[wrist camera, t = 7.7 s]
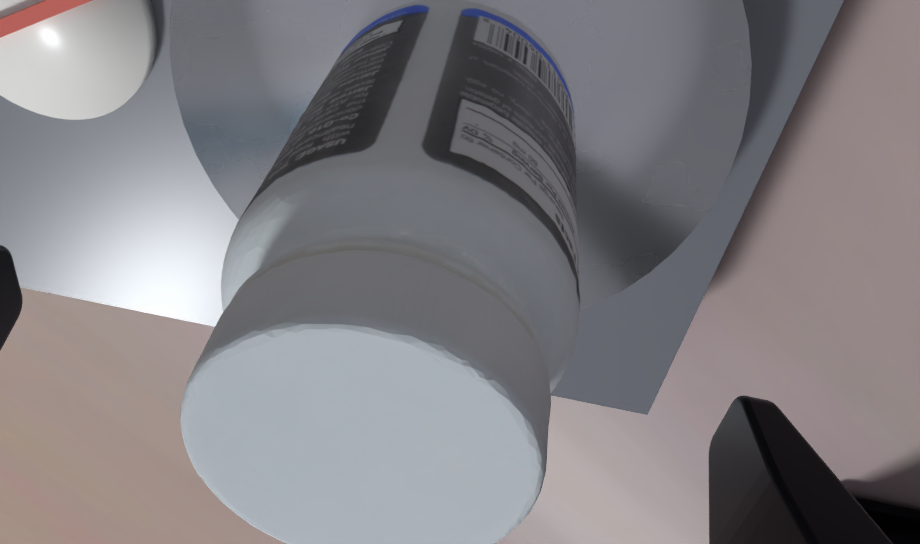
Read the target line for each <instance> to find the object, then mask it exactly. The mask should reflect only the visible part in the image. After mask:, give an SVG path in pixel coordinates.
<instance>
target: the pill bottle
mask: <svg viewBox="0 0 920 544" xmlns="http://www.w3.org/2000/svg"><path fill="white" fill-rule="evenodd" d="M575 152H576V143H575V118H574V106H573V101H572V97H571V93H570V89H569V86H568V83H567V80H566V77H565V75H564V73H563V70H562V69H561V67H560V65H559V63H558V62H557V60H556V58H555V57H554V55H553V54H552V53H551V51H550V50H549V49H548V47H547V46H546V45H545V44H544V43H543V42H542V40H541V39H540V38H539V37H538V36H537V35H536V34H535V33H533V32H532V31H531V30H530V29H529V28H528V27H527V26H526V25H524V24H523V23H521V22H520V21H518V20H517V19H515V18H513V17H512V16H510V15H507V14H505V13H503V12H501V11H498V10H496V9H494V8H491V7H488V6H485V5H482V4H478V3H474V2H470V1H464V0H420V1H415V2H410V3H407V4H404V5H401V6H398V7H396V8H394V9H391V10H389V11H387V12H385V13H383V14H382V15H380V16H379V17H377V18H376V19H374V20H373V21H371V22H369V23H368V24H367V25H366V26H365V27H363V28H362V29H361V30H360V31H359V32H358V33H357V34H356V35H355V36H354V37H353V39H352V40H351V41H350V42H349V43H348V45H347V46H346V47H345V48H344V49H343V51H342V52H341V54H340V55H339V57H338V59H337V60H336V62H335V63H334V65H333V67H332V68H331V70H330V72H329V73H328V75H327V76H326V78H325V80H324V81H323V83H322V85H321V86H320V88H319V89H318V91H317V92H316V94H315V96H314V97H313V99H312V100H311V102H310V104H309V105H308V107H307V109H306V110H305V112H304V113H303V114H302V115H301V117H300V119H299V121H298V123H297V125H296V126H295V128H294V129H293V131H292V133H291V135H290V137H289V139H288V140H287V142H286V144H285V145H284V147H283V149H282V151H281V152H280V154H279V156H278V158H277V159H276V161H275V163H274V165H273V166H272V168H271V170H270V171H269V173H268V174H267V176H266V177H265V179H264V181H263V183H262V184H261V186H260V188H259V189H258V191H257V192H256V194H255V196H254V197H253V199H252V200H251V202H250V203H249V205H248V206H247V208H246V210H245V211H244V213H243V214H242V216H241V218H240V219H239V221H238V223H237V225H236V227H235V229H234V231H233V234H232V236H231V239H230V242H229V245H228V248H227V251H226V254H225V258H224V263H223V270H222V277H221V300H222V308H223V313H222V315H221V317H220V318H219V320H218V322H217V324H216V326H215V328H214V330H213V332H212V334H211V336H210V338H209V340H208V342H207V344H206V346H205V348H204V350H203V352H202V354H201V356H200V358H199V360H198V362H197V363H196V365H195V367H194V369H193V371H192V374H191V376H190V378H189V380H188V383H187V386H186V389H185V392H184V396H183V399H182V405H181V430H182V435H183V441H184V444H185V447H186V450H187V453H188V455H189V458H190V460H191V462H192V464H193V466H194V468H195V470H196V471H197V473H198V475H199V476H200V477H201V478H202V479H203V481H204V482H205V483H206V485H207V486H208V487H209V489H210V490H211V491H212V492H213V493H214V494H215V495H216V496H217V497H218V498H219V499H220V500H221V501H222V502H223V503H224V504H225V505H226V506H227V507H228V508H230V509H231V510H232V511H233V512H234V513H236V514H237V515H238V516H240V517H241V518H242V519H244V520H245V521H246V522H248V523H249V524H250V525H252V526H253V527H255V528H257V529H259V530H261V531H262V532H264V533H266V534H268V535H270V536H272V537H274V538H276V539H278V540H280V541H282V542H285V543H287V544H494V543H496V542H498V541H500V540H501V539H502V538H504V537H505V536H507V535H508V534H509V533H510V532H511V531H512V530H513V529H514V528H515V527H516V526H517V525H518V524H520V523H521V522H522V521H523V519H524V518H525V517H526V516H527V515H528V514H529V512H530V511H531V509H532V507H533V505H534V503H535V502H536V500H537V498H538V495H539V493H540V491H541V488H542V484H543V480H544V476H545V472H546V461H547V441H548V425H549V417H550V407H551V393H552V392H553V390H554V389H555V387H556V386H557V384H558V383H559V381H560V379H561V378H562V376H563V374H564V373H565V371H566V368H567V366H568V364H569V361H570V359H571V356H572V353H573V350H574V347H575V341H576V336H577V331H578V324H579V311H580V292H579V255H578V213H577V173H576V160H577V159H576V155H575Z"/></svg>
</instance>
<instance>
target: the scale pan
mask: <svg viewBox="0 0 920 544" xmlns="http://www.w3.org/2000/svg"><path fill="white" fill-rule="evenodd" d="M415 1H420V0H172V5H171V13H170V20H169V28H170V62H171V69H172V76H173V83H174V91H175V94H176V98H177V102H178V105H179V109H180V113H181V116H182V120H183V124H184V126H185V129H186V131H187V134H188V136H189V138H190V141H191V143H192V146H193V148H194V151H195V153H196V156H197V157H198V159H199V161H200V163H201V165H202V166H203V168H204V170H205V172H206V174H207V175H208V177H209V179H210V181H211V183H212V184H213V186H214V187H215V189H216V190H217V192H218V193H219V194H220V196H221V197H222V199H223V200H224V201H225V203H226V204H227V206H228V207H229V208H230V210H231V211H232V212H233V214H234V215H235V216H236V217H237V218H238V219H240V218H241V216H242V214H243V213H244V211H245V210H246V208H247V206H248V205H249V203H250V202H251V200H252V199H253V197H254V196H255V194H256V192H257V191H258V189H259V188H260V186H261V184H262V183H263V181H264V179H265V177H266V176H267V174H268V173H269V171H270V170H271V168H272V166H273V165H274V163H275V161H276V159H277V158H278V156H279V154H280V152H281V151H282V149H283V147H284V145H285V144H286V142H287V140H288V139H289V137H290V135H291V133H292V131H293V129H294V128H295V126H296V125H297V123H298V121H299V119H300V117H301V115H302V114H303V113H304V112H305V110H306V109H307V107H308V105H309V104H310V102H311V100H312V99H313V97H314V96H315V94H316V92H317V91H318V89H319V88H320V86H321V85H322V83H323V81H324V80H325V78H326V76H327V75H328V73H329V72H330V70H331V68H332V67H333V65H334V63H335V62H336V60H337V59H338V57H339V55H340V54H341V52H342V51H343V49H344V48H345V47H346V46H347V45H348V43H349V42H350V41H351V40H352V39H353V37H354V36H355V35H356V34H357V33H358V32H359V31H360V30H361V29H362V28H363V27H365V26H366V25H367V24H368V23H369V22H371V21H373V20H374V19H376V18H377V17H379V16H380V15H382V14H383V13H385V12H387V11H389V10H391V9H394V8H396V7H398V6H401V5H404V4H407V3H410V2H415ZM464 1H470V2H474V3H478V4H482V5H485V6H488V7H491V8H494V9H496V10H498V11H501V12H503V13H505V14H507V15H510V16H512V17H513V18H515V19H517V20H518V21H520V22H521V23H523V24H524V25H526V26H527V27H528V28H529V29H530V30H531V31H532V32H533V33H535V34H536V35H537V36H538V37H539V38H540V39H541V40H542V42H543V43H544V44H545V45H546V46H547V47H548V49H549V50H550V51H551V53H552V54H553V55H554V57H555V58H556V60H557V62H558V63H559V65H560V67H561V69H562V70H563V73H564V75H565V77H566V80H567V83H568V86H569V89H570V93H571V97H572V101H573V106H574V118H575V143H576V152H575V155H576V159H577V160H576V173H577V213H578V255H579V292H580V310H582V309H585V308H588V307H590V306H593V305H595V304H597V303H599V302H601V301H603V300H605V299H607V298H609V297H611V296H613V295H615V294H617V293H619V292H621V291H623V290H624V289H626V288H627V287H629V286H630V285H632V284H633V283H635V282H636V281H638V280H639V279H641V278H642V277H644V276H645V275H647V274H648V273H649V272H651V271H652V270H653V269H654V268H655V267H657V266H658V265H659V264H660V263H661V262H663V261H664V260H665V259H666V258H667V257H668V256H670V255H671V254H672V253H673V252H674V251H675V250H676V249H677V248H678V247H679V245H680V244H681V243H682V242H683V241H684V240H685V239H686V238H687V237H688V236H689V235H690V234H691V232H692V231H693V230H694V229H695V228H696V226H697V225H698V224H699V222H700V221H701V219H702V218H703V217H704V215H705V214H706V212H707V211H708V210H709V208H710V207H711V205H712V204H713V203H714V201H715V199H716V197H717V195H718V193H719V191H720V189H721V188H722V186H723V184H724V182H725V180H726V178H727V176H728V174H729V172H730V170H731V167H732V164H733V162H734V159H735V156H736V153H737V151H738V148H739V145H740V142H741V140H742V136H743V131H744V126H745V121H746V116H747V112H748V107H749V101H750V85H751V69H752V62H751V50H750V38H749V26H748V22H747V18H746V13H745V9H744V5H743V1H742V0H464Z"/></svg>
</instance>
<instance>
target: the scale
mask: <svg viewBox="0 0 920 544" xmlns="http://www.w3.org/2000/svg"><path fill="white" fill-rule="evenodd" d="M742 1H743V5H744V9H745V13H746V18H747V22H748V26H749V38H750V50H751V62H752V69H751V85H750V101H749V107H748V112H747V116H746V121H745V126H744V131H743V136H742V140H741V142H740V145H739V148H738V151H737V153H736V156H735V159H734V162H733V164H732V167H731V170H730V172H729V174H728V176H727V178H726V180H725V182H724V184H723V186H722V188H721V189H720V191H719V193H718V195H717V197H716V199H715V201H714V203H713V204H712V205H711V207H710V208H709V210H708V211H707V212H706V214H705V215H704V217H703V218H702V219H701V221H700V222H699V224H698V225H697V226H696V228H695V229H694V230H693V231H692V232H691V234H690V235H689V236H688V237H687V238H686V239H685V240H684V241H683V242H682V243H681V244H680V245H679V247H678V248H677V249H676V250H675V251H674V252H673V253H672V254H671V255H670V256H668V257H667V258H666V259H665V260H664V261H663V262H661V263H660V264H659V265H658V266H657V267H655V268H654V269H653V270H652V271H651V272H649V273H648V274H647V275H645V276H644V277H642V278H641V279H639V280H638V281H636V282H635V283H633V284H632V285H630V286H629V287H627V288H626V289H624V290H623V291H621V292H619V293H617V294H615V295H613V296H611V297H609V298H607V299H605V300H603V301H601V302H599V303H597V304H595V305H593V306H590V307H588V308H585V309H582V310H580V311H579V324H578V331H577V336H576V341H575V347H574V350H573V353H572V356H571V359H570V361H569V364H568V366H567V368H566V371H565V373H564V374H563V376H562V378H561V379H560V381H559V383H558V384H557V386H556V387H555V389H554V390H553V392H552V393H551V395H553V396H558V397H563V398H568V399H572V400H577V401H582V402H587V403H592V404H597V405H602V406H607V407H612V408H617V409H622V410H626V411H631V412H636V413H641V414H646V415H647V414H648V412H649V410H650V408H651V406H652V404H653V402H654V400H655V398H656V396H657V393H658V391H659V389H660V387H661V385H662V383H663V381H664V379H665V377H666V374H667V372H668V370H669V368H670V366H671V364H672V362H673V360H674V358H675V355H676V353H677V351H678V349H679V347H680V345H681V343H682V341H683V339H684V337H685V334H686V332H687V330H688V328H689V326H690V324H691V322H692V320H693V318H694V315H695V313H696V311H697V309H698V307H699V305H700V303H701V301H702V299H703V296H704V294H705V292H706V290H707V288H708V286H709V284H710V282H711V280H712V278H713V275H714V273H715V271H716V269H717V267H718V265H719V263H720V261H721V259H722V256H723V254H724V252H725V250H726V248H727V246H728V244H729V242H730V240H731V237H732V235H733V233H734V231H735V229H736V227H737V225H738V223H739V221H740V219H741V216H742V214H743V212H744V210H745V208H746V206H747V204H748V202H749V200H750V197H751V195H752V193H753V191H754V189H755V187H756V185H757V183H758V181H759V178H760V176H761V174H762V172H763V170H764V168H765V166H766V164H767V162H768V160H769V157H770V155H771V153H772V151H773V149H774V147H775V145H776V143H777V141H778V138H779V136H780V134H781V132H782V130H783V128H784V126H785V124H786V122H787V119H788V117H789V115H790V113H791V111H792V109H793V107H794V105H795V103H796V101H797V98H798V96H799V94H800V92H801V90H802V88H803V86H804V84H805V82H806V79H807V77H808V75H809V73H810V71H811V69H812V67H813V65H814V63H815V60H816V58H817V56H818V54H819V52H820V50H821V48H822V46H823V44H824V42H825V39H826V37H827V35H828V33H829V31H830V29H831V27H832V25H833V23H834V20H835V18H836V16H837V14H838V12H839V10H840V8H841V6H842V4H843V1H844V0H742ZM171 5H172V0H0V245H2V246H4V247H6V248H7V249H8V250H9V251H10V252H11V255H12V258H13V262H14V266H15V270H16V274H17V277H18V281H19V285H20V287H23V288H28V289H33V290H38V291H42V292H47V293H52V294H57V295H62V296H67V297H72V298H77V299H82V300H87V301H92V302H96V303H101V304H106V305H111V306H116V307H121V308H126V309H131V310H136V311H141V312H146V313H150V314H155V315H160V316H165V317H170V318H175V319H180V320H185V321H190V322H195V323H200V324H204V325H209V326H214V327H215V326H216V324H217V322H218V320H219V318H220V317H221V315H222V313H223V308H222V300H221V277H222V270H223V263H224V258H225V254H226V251H227V248H228V245H229V242H230V239H231V236H232V234H233V231H234V229H235V227H236V225H237V223H238V221H239V219H238V218H237V217H236V216H235V215H234V214H233V212H232V211H231V210H230V208H229V207H228V206H227V204H226V203H225V201H224V200H223V199H222V197H221V196H220V194H219V193H218V192H217V190H216V189H215V187H214V186H213V184H212V183H211V181H210V179H209V177H208V175H207V174H206V172H205V170H204V168H203V166H202V165H201V163H200V161H199V159H198V157H197V156H196V153H195V151H194V148H193V146H192V143H191V141H190V138H189V136H188V134H187V131H186V129H185V126H184V124H183V120H182V116H181V113H180V109H179V105H178V102H177V98H176V94H175V91H174V83H173V76H172V69H171V62H170V28H169V20H170V13H171Z"/></svg>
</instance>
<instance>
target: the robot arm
mask: <svg viewBox="0 0 920 544" xmlns="http://www.w3.org/2000/svg"><path fill="white" fill-rule="evenodd" d="M21 308H22V293H21V289H20V285H19V281H18V277H17V274H16V270H15V266H14V262H13V258H12V255H11V252H10V251H9V250H8V249H7V248H6V247H4V246H2V245H0V350H1V348H2V347H3V345H4V343H5V341H6V339H7V337H8V335H9V334H10V332H11V330H12V328H13V326H14V324H15V323H16V321H17V319H18V317H19V314H20V312H21ZM709 544H920V511H918V510H913V509H908V508H903V507H898V506H893V505H888V504H883V503H878V502H873V501H868V500H864V499H859V498H854V497H853V496H852V494H851V493H850V492H849V491H848V490H847V489H846V487H845V486H844V485H843V484H842V483H841V481H840V480H839V479H838V478H837V477H836V475H835V474H834V473H833V472H832V471H831V470H830V468H829V467H828V466H827V465H826V464H825V462H824V461H823V460H822V459H821V458H820V457H819V455H818V454H817V453H816V452H815V451H814V449H813V448H812V447H811V446H810V445H809V443H808V442H807V441H806V440H805V439H804V438H803V436H802V435H801V434H800V433H799V432H798V430H797V429H796V428H795V427H794V426H793V424H792V423H791V422H790V421H789V420H788V419H787V417H786V416H785V415H784V414H783V413H782V411H781V410H780V409H779V408H778V407H777V406H776V405H775V404H774V403H772V402H770V401H768V400H763V399H758V398H753V397H749V396H739V397H737V398H736V399H735V400H734V401H733V403H732V404H731V406H730V408H729V409H728V411H727V413H726V415H725V416H724V418H723V420H722V422H721V423H720V425H719V427H718V429H717V430H716V432H715V434H714V436H713V438H712V441H711V444H710V449H709Z"/></svg>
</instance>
